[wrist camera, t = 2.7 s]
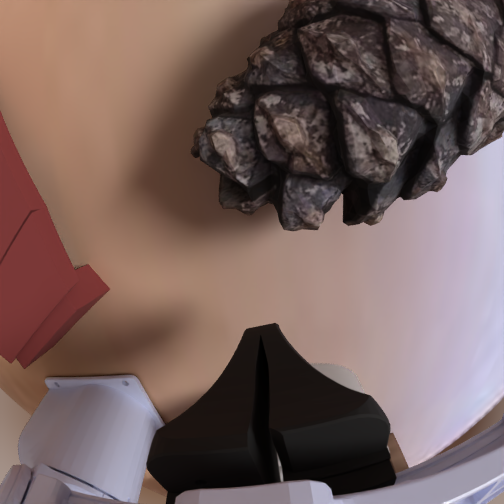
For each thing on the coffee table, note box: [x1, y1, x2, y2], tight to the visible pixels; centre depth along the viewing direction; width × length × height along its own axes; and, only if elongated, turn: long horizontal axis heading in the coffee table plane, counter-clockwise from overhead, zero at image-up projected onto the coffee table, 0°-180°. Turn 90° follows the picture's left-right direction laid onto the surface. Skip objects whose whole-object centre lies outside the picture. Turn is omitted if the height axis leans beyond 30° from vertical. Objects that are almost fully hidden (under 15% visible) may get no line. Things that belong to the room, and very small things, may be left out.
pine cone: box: [191, 0, 504, 231], centre depth 9 cm, size 10×18×10 cm, turn 139°
